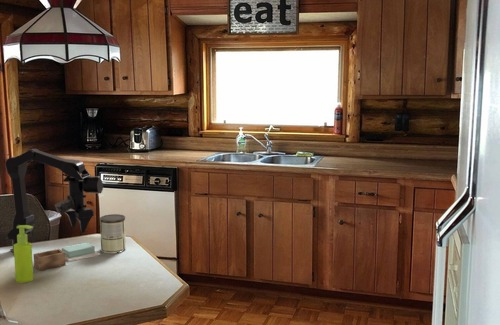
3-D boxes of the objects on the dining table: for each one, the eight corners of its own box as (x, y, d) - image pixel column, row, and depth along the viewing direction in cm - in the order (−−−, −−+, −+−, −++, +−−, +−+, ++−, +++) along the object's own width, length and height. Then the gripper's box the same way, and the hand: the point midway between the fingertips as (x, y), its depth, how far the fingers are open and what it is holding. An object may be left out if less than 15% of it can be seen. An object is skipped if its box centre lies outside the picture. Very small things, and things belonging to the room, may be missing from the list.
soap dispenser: (30, 283, 195) (27, 228, 192) (12, 282, 196) (9, 227, 193) (39, 277, 201) (36, 224, 198) (21, 276, 202) (18, 223, 199)
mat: (57, 253, 227) (57, 252, 227) (87, 247, 235) (87, 246, 235) (68, 261, 218) (68, 260, 218) (99, 255, 226) (99, 253, 226)
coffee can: (96, 249, 234) (95, 216, 232) (119, 244, 240) (118, 212, 238) (107, 255, 226) (106, 221, 224) (130, 250, 233) (129, 217, 230)
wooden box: (39, 270, 208) (38, 257, 207) (34, 266, 212) (33, 253, 212) (65, 265, 214) (65, 252, 213) (59, 261, 219) (59, 248, 218)
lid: (69, 258, 220) (68, 251, 220) (62, 253, 226) (61, 247, 226) (94, 252, 227) (94, 246, 227) (87, 248, 233) (87, 242, 232)
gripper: (47, 191, 224) (49, 228, 227) (65, 199, 210) (67, 239, 213) (74, 187, 232) (76, 224, 234) (93, 195, 217) (95, 233, 220)
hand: (78, 230), depth 225 cm, fingers open, 9 cm apart
